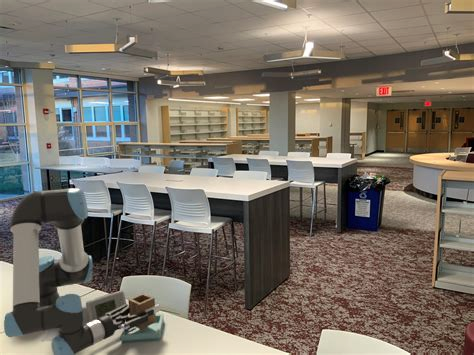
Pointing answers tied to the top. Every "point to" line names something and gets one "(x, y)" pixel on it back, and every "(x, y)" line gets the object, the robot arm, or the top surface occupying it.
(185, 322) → the top surface
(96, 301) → the digital clock
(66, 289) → the top surface
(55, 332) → the post base
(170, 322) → the top surface
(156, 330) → the tray
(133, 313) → the wooden pen holder
